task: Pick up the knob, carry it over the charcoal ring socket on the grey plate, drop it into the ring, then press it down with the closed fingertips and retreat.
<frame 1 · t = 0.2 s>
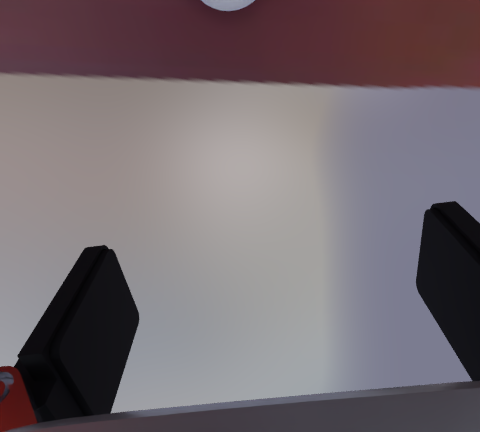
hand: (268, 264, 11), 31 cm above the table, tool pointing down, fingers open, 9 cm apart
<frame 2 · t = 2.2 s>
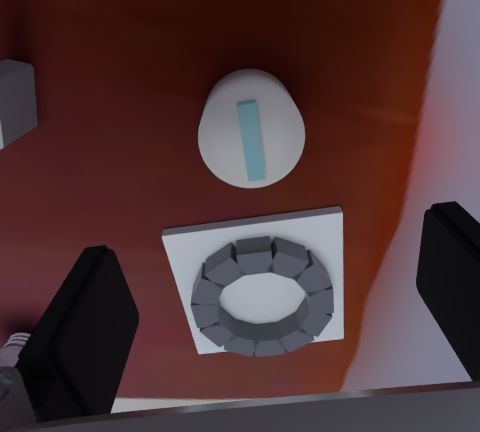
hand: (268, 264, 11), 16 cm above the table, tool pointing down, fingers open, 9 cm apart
segmented ring plate: (260, 284, 32), on the table
light bulb: (30, 334, 36), on the table
lighter: (21, 70, 23), on the table
knob: (248, 115, 25), on the table
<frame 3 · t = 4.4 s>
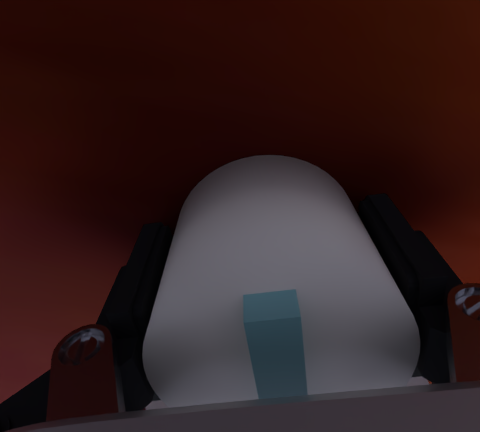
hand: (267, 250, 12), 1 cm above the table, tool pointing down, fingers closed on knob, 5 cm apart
knob: (265, 238, 12), on the table, touching gripper
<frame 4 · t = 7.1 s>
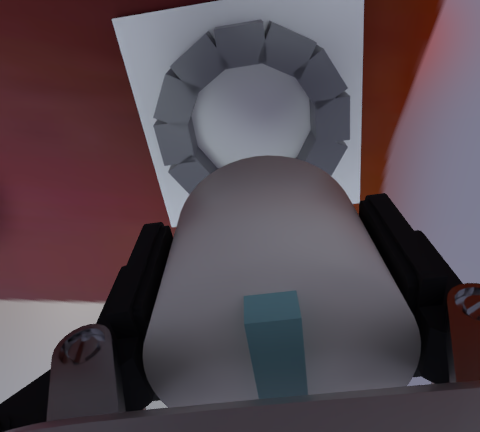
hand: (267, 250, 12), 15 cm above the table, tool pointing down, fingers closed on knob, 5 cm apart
segmented ring plate: (251, 118, 24), on the table
knob: (266, 239, 12), point 14 cm above the table, touching gripper
when the fingers open (4 cm above the table, at t = 9.8 s): knob drops 2 cm, resting on segmented ring plate.
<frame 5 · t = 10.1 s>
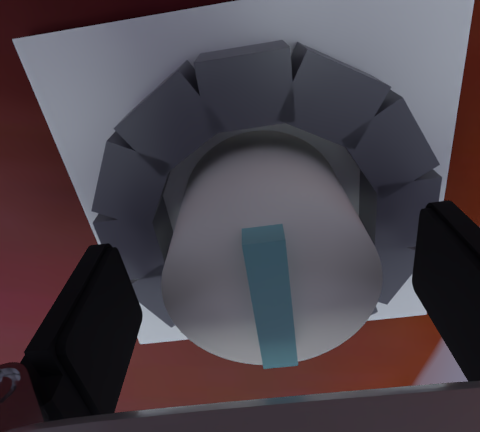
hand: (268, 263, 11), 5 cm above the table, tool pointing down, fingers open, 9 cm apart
segmented ring plate: (261, 194, 15), on the table
knob: (261, 205, 14), point 1 cm above the table, touching segmented ring plate
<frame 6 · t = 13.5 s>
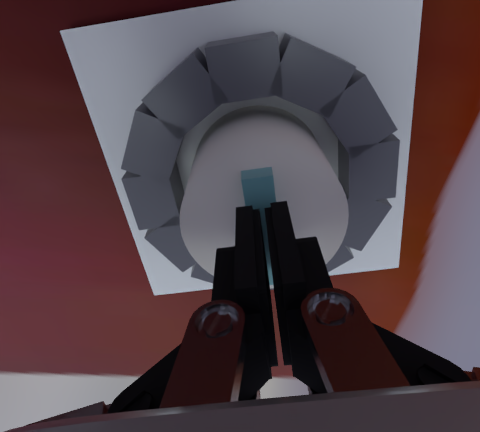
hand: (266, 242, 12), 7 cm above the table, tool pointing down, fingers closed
segmented ring plate: (257, 161, 18), on the table
knob: (257, 169, 17), point 1 cm above the table, touching segmented ring plate
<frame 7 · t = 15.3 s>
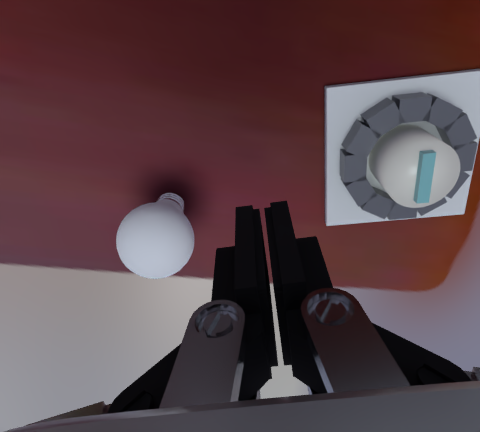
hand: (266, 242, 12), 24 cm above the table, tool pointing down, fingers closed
segmented ring plate: (397, 152, 36), on the table
light bulb: (172, 200, 39), on the table
knob: (400, 155, 35), point 1 cm above the table, touching segmented ring plate
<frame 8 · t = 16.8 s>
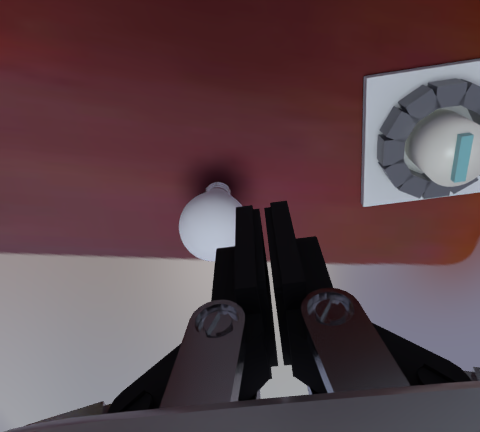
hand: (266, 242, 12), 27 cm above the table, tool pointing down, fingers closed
segmented ring plate: (430, 135, 38), on the table
light bulb: (218, 189, 42), on the table
knob: (434, 138, 37), point 1 cm above the table, touching segmented ring plate
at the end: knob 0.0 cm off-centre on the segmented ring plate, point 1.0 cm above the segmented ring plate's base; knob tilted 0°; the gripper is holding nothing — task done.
